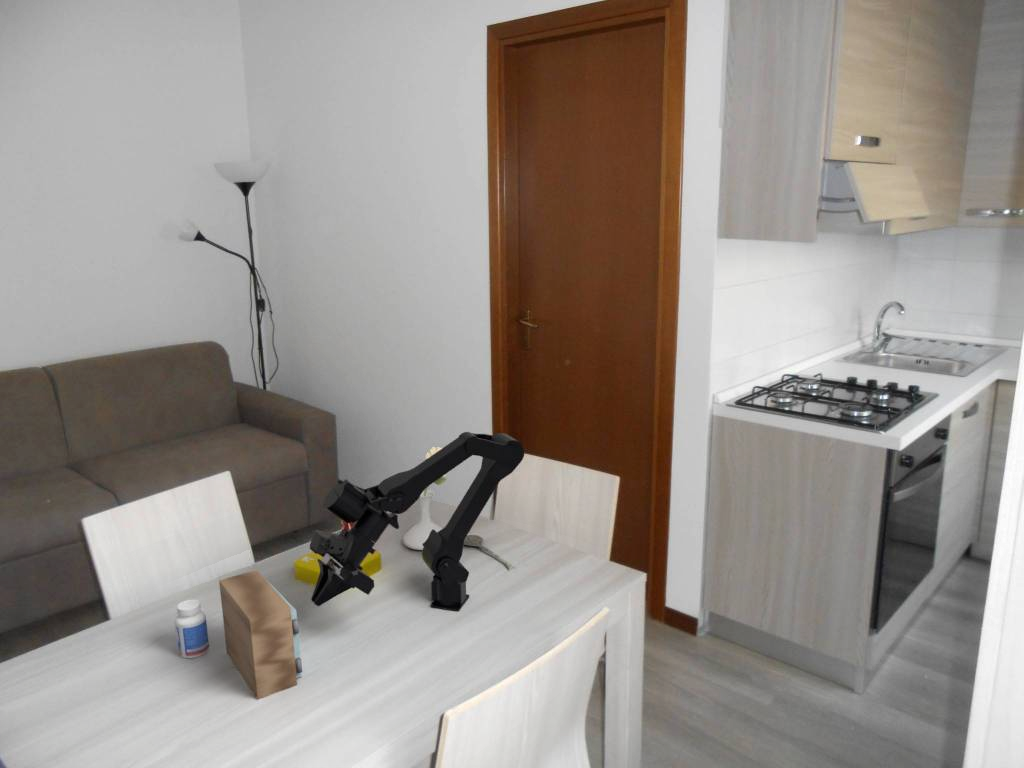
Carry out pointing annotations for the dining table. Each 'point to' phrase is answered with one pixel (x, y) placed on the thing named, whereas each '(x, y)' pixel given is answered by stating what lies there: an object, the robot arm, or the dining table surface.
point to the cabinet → (258, 633)
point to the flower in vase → (424, 515)
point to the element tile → (310, 569)
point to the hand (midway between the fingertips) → (314, 603)
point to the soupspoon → (478, 540)
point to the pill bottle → (191, 629)
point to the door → (294, 636)
